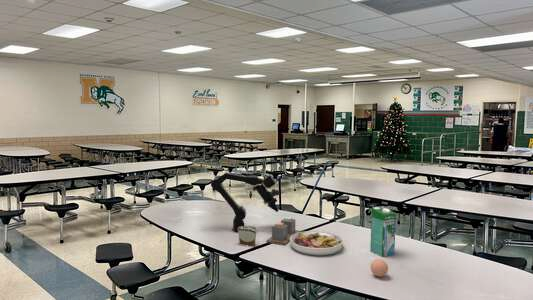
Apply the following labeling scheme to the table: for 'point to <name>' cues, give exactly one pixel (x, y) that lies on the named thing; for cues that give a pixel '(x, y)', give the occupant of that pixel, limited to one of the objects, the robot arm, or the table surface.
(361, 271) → the table surface
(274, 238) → the button posts
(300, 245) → the bowl
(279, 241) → the walnut board
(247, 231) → the food container
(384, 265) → the toy ball
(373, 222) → the milk carton
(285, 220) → the sage button
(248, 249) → the table surface
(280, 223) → the terracotta button
